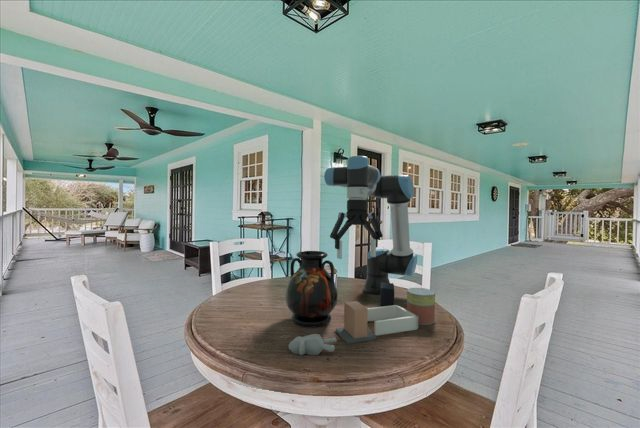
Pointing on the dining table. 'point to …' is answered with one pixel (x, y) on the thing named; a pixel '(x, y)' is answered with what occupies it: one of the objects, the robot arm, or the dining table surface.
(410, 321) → the slot rack
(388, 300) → the small box
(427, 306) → the canned food
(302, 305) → the amphora vase
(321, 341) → the bunny figurine
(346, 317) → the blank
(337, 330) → the slate mat
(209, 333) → the dining table surface
